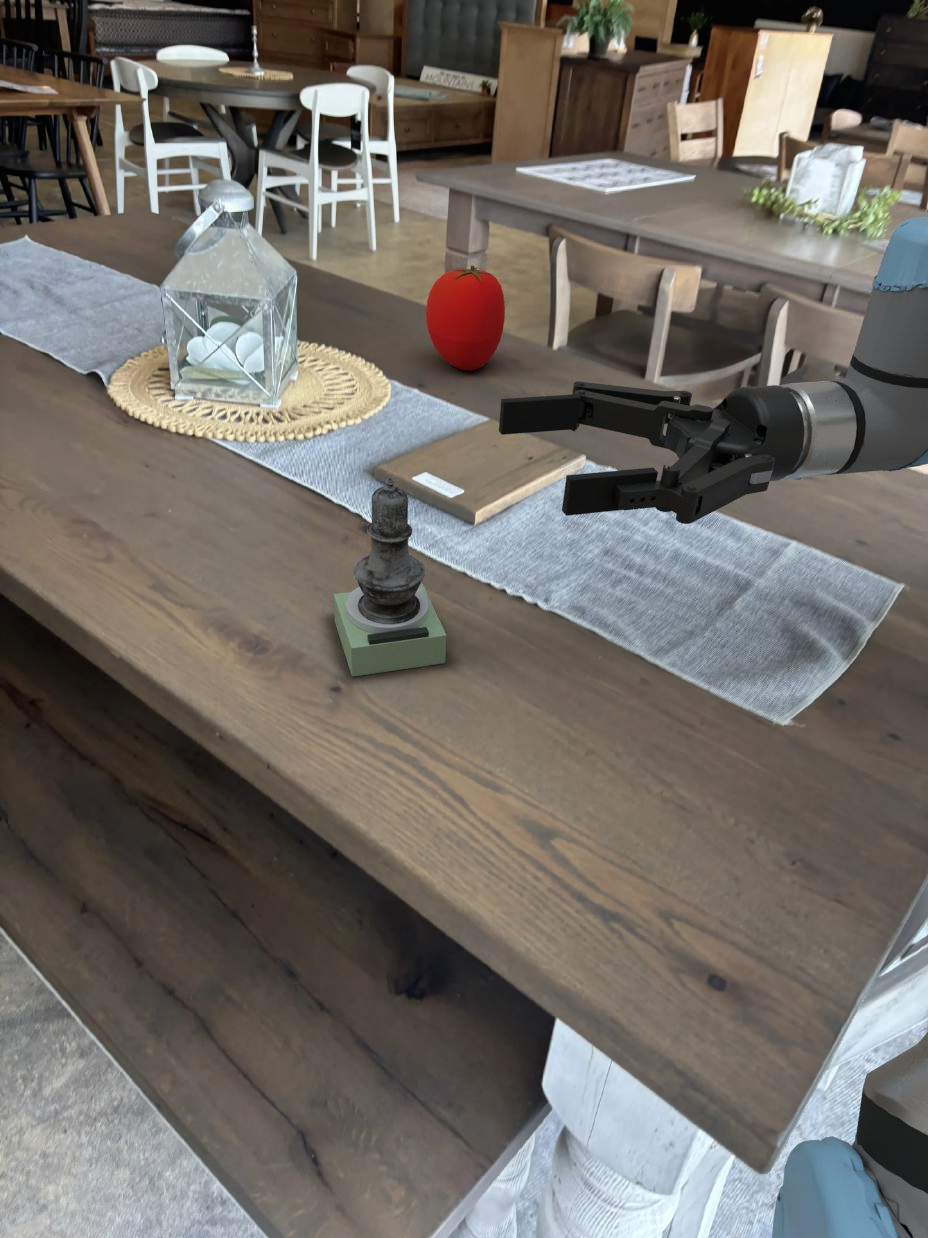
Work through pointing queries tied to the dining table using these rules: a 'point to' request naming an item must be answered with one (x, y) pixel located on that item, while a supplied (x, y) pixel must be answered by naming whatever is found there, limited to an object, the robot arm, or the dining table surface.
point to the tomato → (466, 317)
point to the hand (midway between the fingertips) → (530, 453)
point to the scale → (388, 637)
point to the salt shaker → (389, 562)
